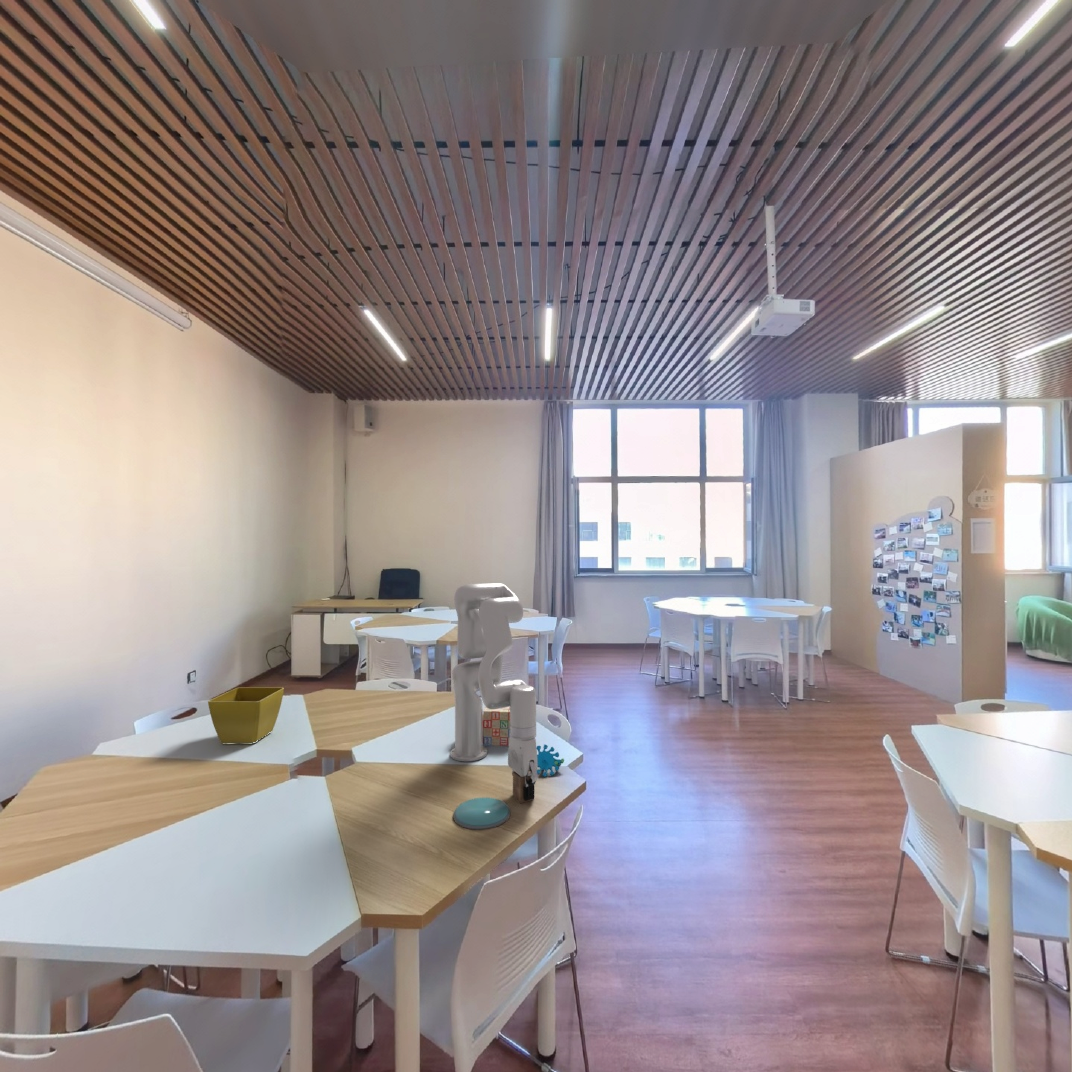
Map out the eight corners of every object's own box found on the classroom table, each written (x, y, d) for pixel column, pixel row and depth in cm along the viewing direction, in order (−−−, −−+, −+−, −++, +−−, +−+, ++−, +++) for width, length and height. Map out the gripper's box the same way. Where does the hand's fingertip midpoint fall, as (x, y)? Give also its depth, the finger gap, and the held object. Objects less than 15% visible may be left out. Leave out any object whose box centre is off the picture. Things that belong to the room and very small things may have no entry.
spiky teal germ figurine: (529, 773, 161) (530, 741, 168) (526, 781, 165) (528, 750, 172) (564, 777, 161) (564, 745, 169) (561, 784, 165) (561, 753, 173)
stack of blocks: (458, 744, 190) (458, 710, 190) (461, 738, 196) (461, 705, 196) (516, 746, 188) (516, 711, 188) (518, 739, 194) (518, 706, 195)
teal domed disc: (445, 809, 142) (445, 804, 142) (496, 796, 149) (496, 792, 149) (465, 835, 129) (465, 830, 129) (519, 820, 136) (519, 815, 136)
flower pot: (258, 748, 187) (258, 701, 187) (205, 748, 187) (206, 701, 188) (284, 730, 206) (285, 687, 206) (237, 730, 206) (237, 687, 207)
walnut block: (512, 796, 149) (512, 771, 149) (526, 792, 151) (526, 768, 152) (520, 803, 145) (519, 777, 145) (534, 799, 147) (534, 774, 148)
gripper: (498, 723, 155) (498, 785, 154) (525, 742, 139) (525, 811, 139) (521, 719, 158) (521, 780, 158) (549, 737, 143) (550, 804, 143)
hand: (523, 793), depth 148 cm, fingers open, 5 cm apart
